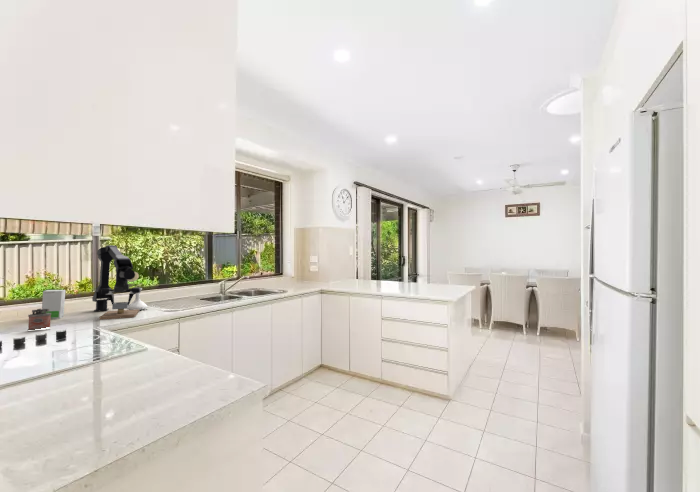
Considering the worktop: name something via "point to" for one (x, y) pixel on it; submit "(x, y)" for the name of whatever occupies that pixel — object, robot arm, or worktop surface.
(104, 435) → the worktop surface
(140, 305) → the flower in vase
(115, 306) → the steel link
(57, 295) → the skincare box
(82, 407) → the worktop surface
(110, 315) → the keeper board
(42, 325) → the lighter
